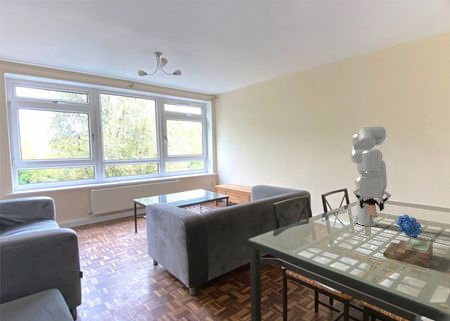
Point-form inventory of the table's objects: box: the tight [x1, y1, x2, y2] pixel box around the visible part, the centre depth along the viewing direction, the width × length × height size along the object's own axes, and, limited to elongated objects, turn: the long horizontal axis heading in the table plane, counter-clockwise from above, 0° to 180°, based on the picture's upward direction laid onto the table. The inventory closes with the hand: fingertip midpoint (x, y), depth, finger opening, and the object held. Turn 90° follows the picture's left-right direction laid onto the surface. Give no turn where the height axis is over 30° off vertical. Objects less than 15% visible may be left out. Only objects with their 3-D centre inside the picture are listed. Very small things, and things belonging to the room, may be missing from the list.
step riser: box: [383, 237, 434, 269], centre depth 110 cm, size 16×16×6 cm
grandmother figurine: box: [363, 198, 380, 219], centre depth 120 cm, size 8×4×13 cm, turn 64°
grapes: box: [395, 214, 423, 238], centre depth 132 cm, size 12×7×12 cm, turn 37°
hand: (371, 209), depth 120 cm, fingers closed on grandmother figurine, 7 cm apart
